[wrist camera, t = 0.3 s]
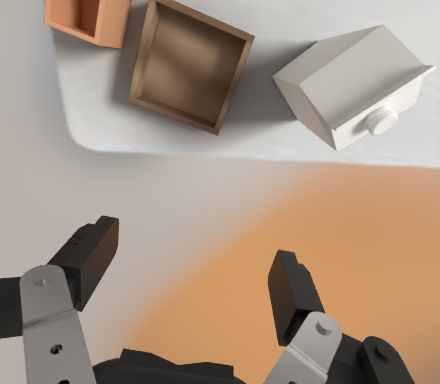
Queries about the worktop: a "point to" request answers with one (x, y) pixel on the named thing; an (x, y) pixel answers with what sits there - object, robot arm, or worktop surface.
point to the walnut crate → (188, 65)
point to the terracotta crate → (90, 19)
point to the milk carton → (352, 84)
